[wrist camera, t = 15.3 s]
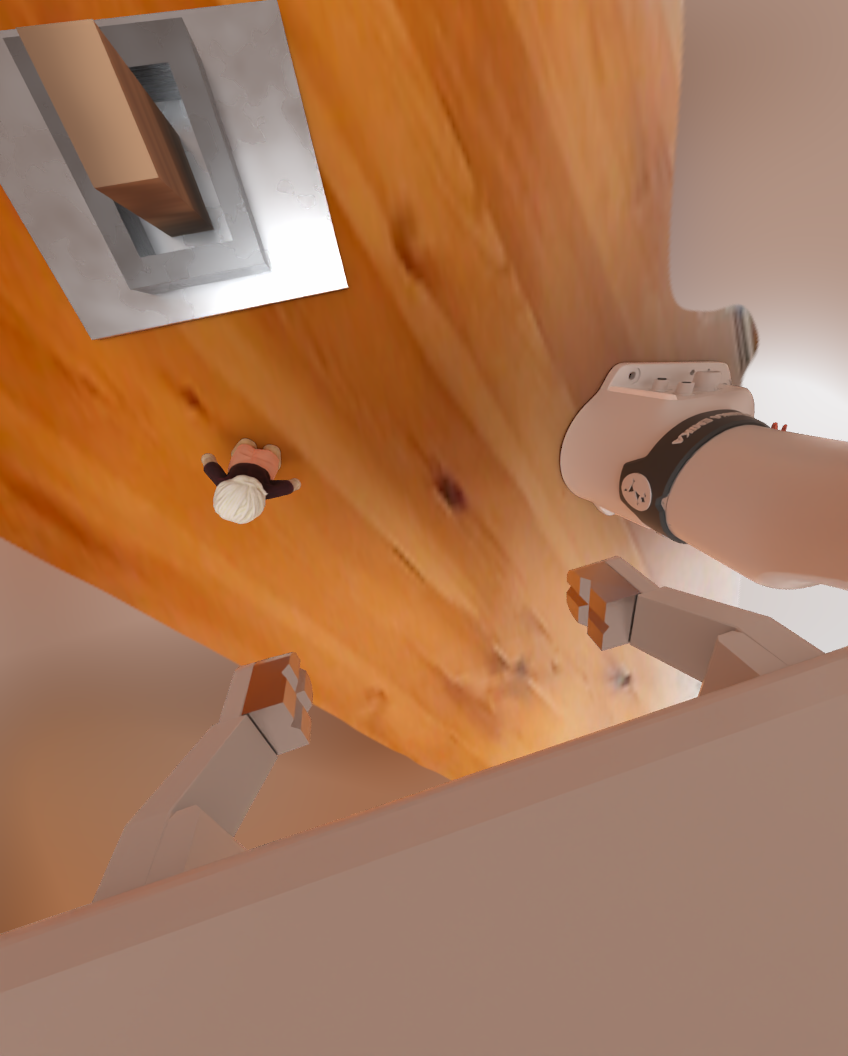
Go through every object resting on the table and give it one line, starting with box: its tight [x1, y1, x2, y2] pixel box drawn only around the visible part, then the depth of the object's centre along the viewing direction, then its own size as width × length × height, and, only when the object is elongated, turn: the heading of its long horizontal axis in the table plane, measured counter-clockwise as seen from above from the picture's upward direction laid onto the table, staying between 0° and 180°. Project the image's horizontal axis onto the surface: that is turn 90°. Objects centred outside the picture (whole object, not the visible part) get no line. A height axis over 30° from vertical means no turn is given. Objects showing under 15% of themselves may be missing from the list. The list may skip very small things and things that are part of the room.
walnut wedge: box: [16, 19, 214, 237], centre depth 20 cm, size 3×5×10 cm, turn 11°
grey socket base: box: [0, 0, 348, 340], centre depth 24 cm, size 20×15×5 cm
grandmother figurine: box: [201, 438, 301, 524], centre depth 30 cm, size 8×4×13 cm, turn 79°
